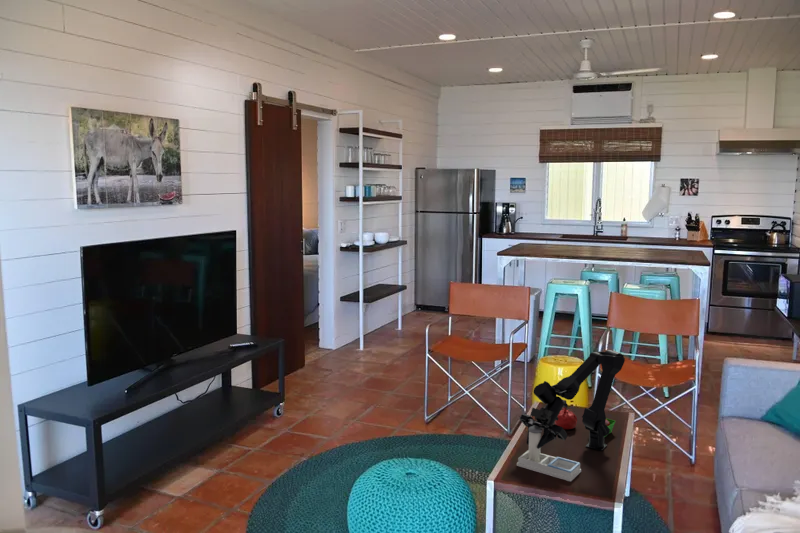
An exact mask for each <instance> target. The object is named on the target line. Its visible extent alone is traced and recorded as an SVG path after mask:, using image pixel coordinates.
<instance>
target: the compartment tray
mask: <svg viewBox="0 0 800 533" xmlns="http://www.w3.org/2000/svg"><path fill="white" fill-rule="evenodd" d="M528 452H529V449H528V450H526V451H525V452H524V453H522V454H521V455H520V456H519V457H518V458H517V462H516V466H517V467H520V468H524V469H527V470H530V471H534V472H537V473H540V474H544V475H547V476H551V477H553V478H557V479H561V480H564V481H567V482H572V481H573V480H575V478H576V477H577V476H578V475H579V474H581V473H582V468H581V462H579V461H576V460H571V459H568V458H564V457H560V456H552V455H549V454H545V453H541V454H540V462H539V463H538V462H535V461H531V460H528Z"/></svg>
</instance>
